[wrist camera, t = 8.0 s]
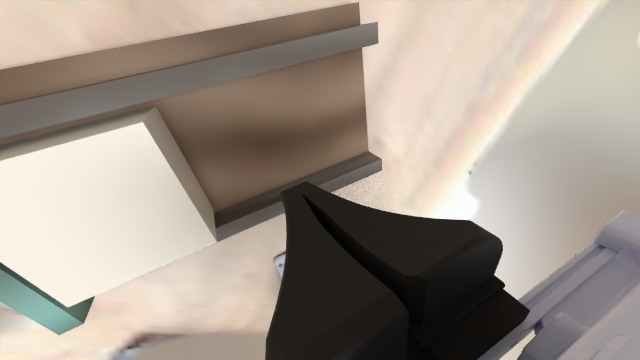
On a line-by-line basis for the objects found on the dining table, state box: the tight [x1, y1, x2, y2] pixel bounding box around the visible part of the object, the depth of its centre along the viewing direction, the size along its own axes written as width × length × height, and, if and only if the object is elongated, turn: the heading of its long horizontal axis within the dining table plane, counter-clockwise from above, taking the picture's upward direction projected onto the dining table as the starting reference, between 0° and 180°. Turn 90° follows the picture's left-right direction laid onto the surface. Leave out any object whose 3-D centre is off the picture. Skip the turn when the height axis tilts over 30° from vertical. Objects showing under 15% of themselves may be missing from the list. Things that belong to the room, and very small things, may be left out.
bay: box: [0, 2, 382, 335], centre depth 15 cm, size 14×24×5 cm, turn 101°
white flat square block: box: [0, 105, 217, 307], centre depth 13 cm, size 8×8×4 cm
